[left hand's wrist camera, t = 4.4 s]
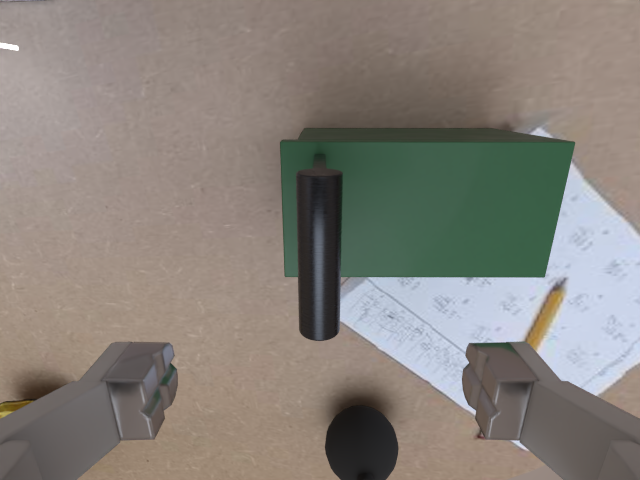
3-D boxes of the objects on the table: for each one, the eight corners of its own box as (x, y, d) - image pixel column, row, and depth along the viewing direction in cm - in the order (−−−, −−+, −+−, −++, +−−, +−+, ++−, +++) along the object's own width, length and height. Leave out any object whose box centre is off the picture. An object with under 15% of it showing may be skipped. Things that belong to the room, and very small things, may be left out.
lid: (286, 269, 27) (269, 351, 18) (281, 139, 24) (259, 162, 15) (535, 269, 27) (638, 352, 18) (563, 139, 24) (705, 162, 15)
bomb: (403, 403, 45) (431, 506, 33) (371, 449, 47) (387, 559, 36) (343, 380, 43) (351, 479, 32) (314, 429, 46) (312, 535, 35)
